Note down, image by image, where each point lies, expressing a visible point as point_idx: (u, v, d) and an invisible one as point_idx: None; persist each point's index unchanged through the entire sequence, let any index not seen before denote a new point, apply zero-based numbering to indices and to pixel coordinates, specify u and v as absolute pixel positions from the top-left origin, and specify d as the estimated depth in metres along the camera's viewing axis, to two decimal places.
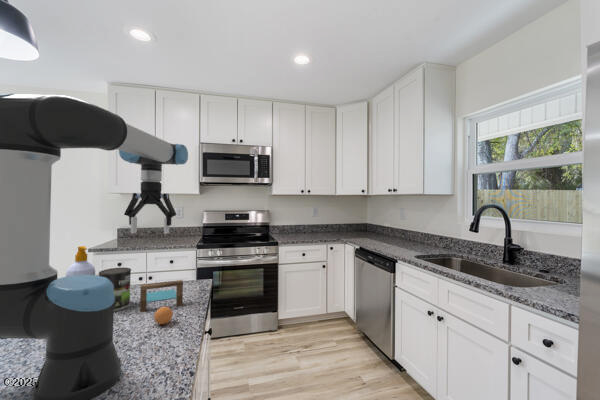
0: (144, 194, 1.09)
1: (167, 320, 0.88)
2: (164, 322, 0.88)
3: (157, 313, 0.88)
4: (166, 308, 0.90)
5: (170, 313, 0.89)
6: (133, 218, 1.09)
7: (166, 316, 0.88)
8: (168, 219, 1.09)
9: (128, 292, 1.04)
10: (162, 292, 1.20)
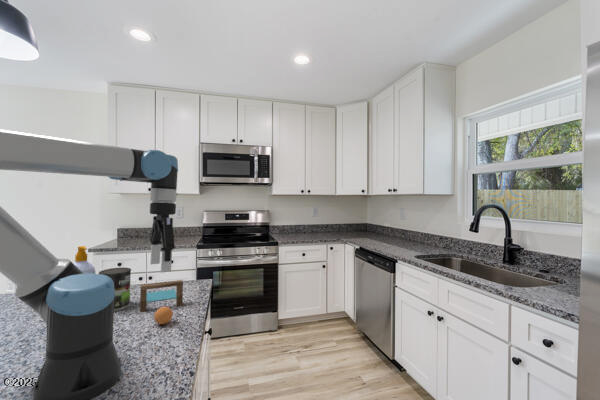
0: (157, 218, 0.88)
1: (167, 320, 0.88)
2: (164, 322, 0.88)
3: (157, 313, 0.88)
4: (166, 308, 0.90)
5: (170, 313, 0.89)
6: (153, 246, 0.91)
7: (166, 316, 0.88)
8: (165, 253, 0.81)
9: (128, 292, 1.04)
10: (162, 292, 1.20)
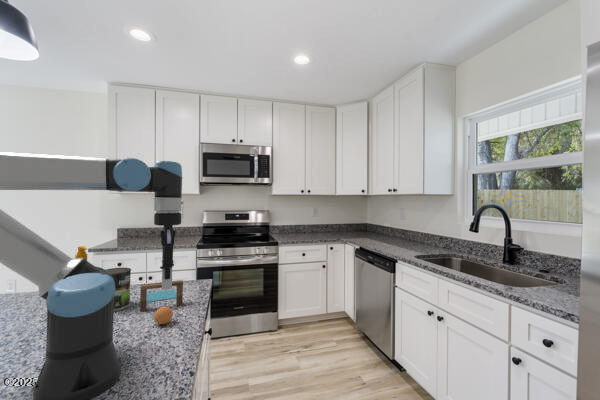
0: (163, 227, 0.84)
1: (167, 320, 0.88)
2: (164, 322, 0.88)
3: (157, 313, 0.88)
4: (166, 308, 0.90)
5: (170, 313, 0.89)
6: None
7: (166, 316, 0.88)
8: (164, 270, 0.81)
9: (128, 292, 1.04)
10: (162, 292, 1.20)
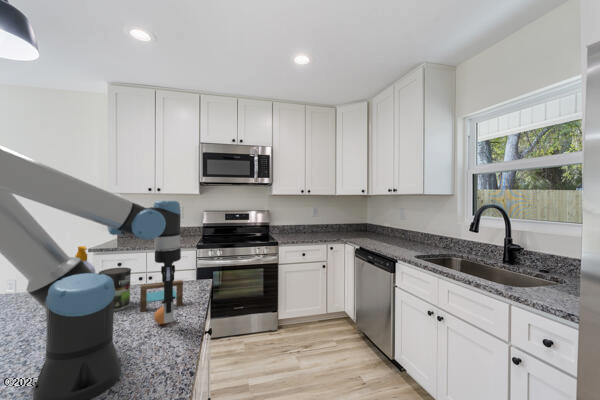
0: None
1: None
2: None
3: (157, 313, 0.88)
4: None
5: None
6: (165, 303, 0.86)
7: None
8: (166, 305, 0.85)
9: (128, 292, 1.04)
10: (162, 292, 1.20)
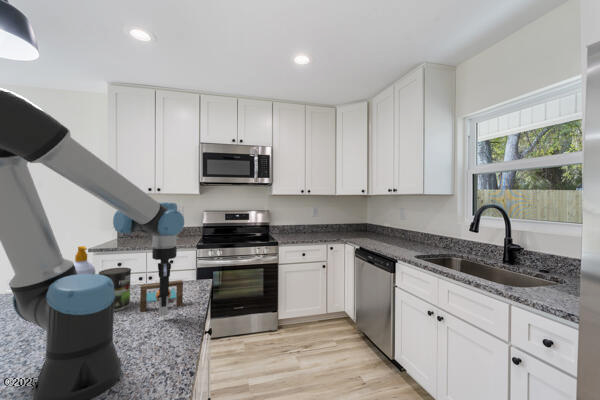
0: None
1: None
2: None
3: None
4: None
5: None
6: None
7: None
8: (161, 299, 0.91)
9: (128, 292, 1.04)
10: None
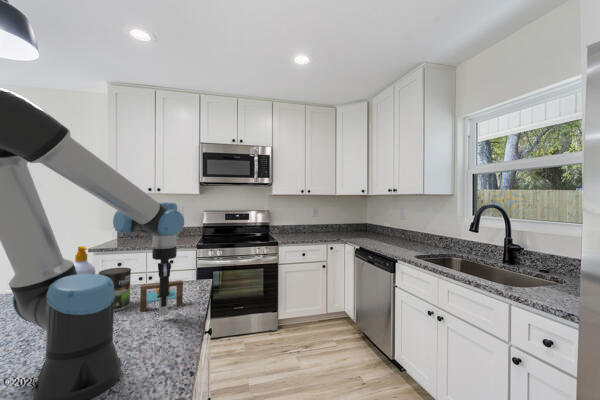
0: None
1: None
2: None
3: (158, 294, 1.14)
4: None
5: None
6: None
7: None
8: (161, 299, 0.91)
9: (128, 292, 1.04)
10: None
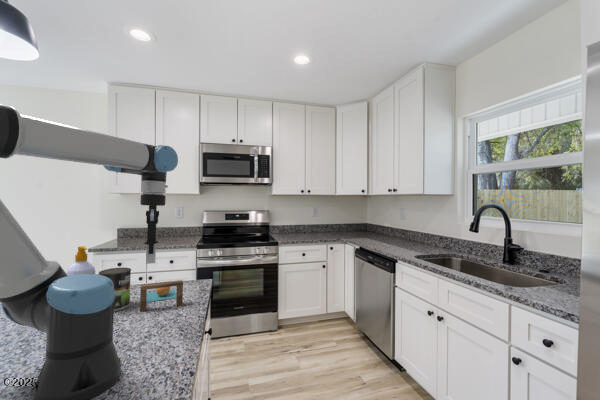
0: None
1: None
2: None
3: (158, 294, 1.14)
4: (165, 294, 1.15)
5: None
6: None
7: None
8: (148, 246, 0.90)
9: (128, 292, 1.04)
10: None
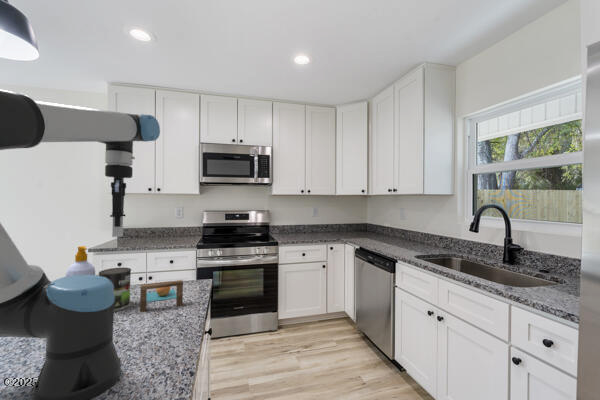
0: None
1: None
2: None
3: (158, 294, 1.14)
4: (165, 294, 1.15)
5: None
6: None
7: None
8: (115, 219, 0.87)
9: (128, 292, 1.04)
10: None
